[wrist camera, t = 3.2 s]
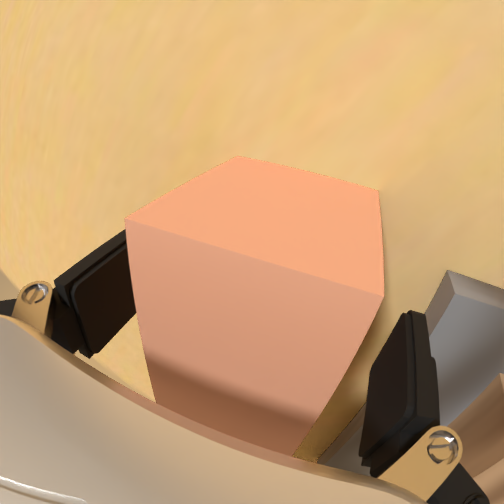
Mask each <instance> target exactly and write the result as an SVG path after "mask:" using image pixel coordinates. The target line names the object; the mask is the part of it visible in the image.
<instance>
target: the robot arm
mask: <svg viewBox="0 0 504 504" xmlns="http://www.w3.org/2000/svg"><path fill="white" fill-rule="evenodd" d="M54 283H55V286H56V287H55V288H54V289H52V287H51V285H50V284H49V283H48V282H45V281H35V282H32V283H29V284H27V285H26V286H25V287H23V288H22V289H21V291H20V292H19V294H18V297H17V299H11V300H5V301H0V504H490V502H489V499H488V497H487V495H486V494H485V493H484V492H483V490H482V489H481V488H480V487H479V485H478V484H477V483H476V482H475V481H474V479H473V478H472V477H471V476H470V474H469V473H468V472H467V471H466V470H465V468H464V467H463V466H462V465H461V464H460V462H459V461H460V459H461V457H462V452H463V448H462V442H461V440H460V437H459V436H458V435H457V433H456V432H455V431H453V430H452V429H451V428H449V427H446V426H440V409H439V391H438V379H437V368H436V361H435V359H434V357H431V349H430V341H429V333H428V326H427V320H426V315H425V314H422V313H419V312H415V311H412V310H409V311H408V312H407V314H406V313H402V315H401V316H400V318H399V320H398V322H397V324H396V325H395V327H394V329H393V331H392V333H391V334H390V336H389V338H388V340H387V342H386V343H385V345H384V347H383V348H382V350H381V352H380V353H379V355H378V357H377V358H376V360H375V362H374V363H373V365H372V368H371V371H370V376H369V386H368V394H367V402H366V409H365V416H364V423H363V429H362V435H361V441H360V447H359V453H358V455H359V457H362V462H361V466H366V467H370V472H369V473H370V475H371V476H366V475H362V474H358V473H354V472H350V471H346V470H342V469H337V468H333V467H329V466H325V465H321V464H317V463H313V462H309V461H306V460H302V459H299V458H295V457H292V456H288V455H285V454H282V453H278V452H275V451H272V450H269V449H266V448H263V447H260V446H257V445H254V444H251V443H248V442H245V441H242V440H240V439H237V438H234V437H232V436H229V435H226V434H224V433H221V432H219V431H216V430H214V429H212V428H209V427H207V426H204V425H202V424H200V423H197V422H195V421H193V420H191V419H188V418H186V417H184V416H182V415H180V414H177V413H175V412H173V411H171V410H169V409H167V408H165V407H163V406H161V405H159V404H157V403H155V402H153V401H151V400H149V399H147V398H145V397H143V396H141V395H140V394H138V393H136V392H134V391H132V390H130V389H128V388H127V387H125V386H123V385H122V384H120V383H118V382H116V381H115V380H113V379H111V378H109V377H108V376H106V375H104V374H103V373H101V372H99V371H98V370H96V369H95V368H93V367H92V366H90V365H88V364H87V363H85V362H84V361H82V360H81V359H79V358H78V357H76V356H75V352H76V351H77V350H79V352H80V353H81V354H83V355H84V356H86V357H88V358H89V359H90V358H91V357H92V356H93V354H94V353H95V354H96V353H99V352H100V351H101V350H102V349H103V347H104V346H105V345H106V344H107V343H108V342H109V341H110V340H111V339H112V338H113V337H114V336H115V335H116V334H117V333H118V331H119V330H120V329H121V328H122V327H123V326H124V325H125V324H126V323H127V322H128V321H129V320H130V319H131V318H132V317H133V316H134V315H135V314H136V313H137V312H136V306H135V300H134V294H133V287H132V280H131V273H130V265H129V257H128V248H127V239H126V229H125V230H123V231H122V232H120V233H119V234H117V235H116V236H114V237H113V238H111V239H110V240H109V241H107V242H106V243H104V244H103V245H101V246H100V247H99V248H97V249H96V250H94V251H93V252H91V253H90V254H89V255H87V256H86V257H85V258H83V259H82V260H80V261H79V262H78V263H76V264H75V265H74V266H72V267H71V268H70V269H68V270H67V271H66V272H64V273H63V274H62V275H60V276H59V277H58V278H56V279H55V280H54Z"/></svg>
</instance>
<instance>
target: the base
mask: <svg viewBox="0 0 504 504" xmlns="http://www.w3.org/2000/svg"><path fill="white" fill-rule="evenodd" d="M425 315H426V320H427V326H428V333H429V341H430V349H431V357H434V359H435V361H436V368H437V379H438V391H439V409H440V426H446V427H449V428H451V429H452V430H453V431H455V432H456V433H457V435H458V436H459V437H460V440H461V442H462V448H463V452H462V457H461V459H460V461H459V462H460V464H461V465H462V466H463V467H464V468H465V470H466V471H467V472H468V473H469V474H470V476H471V477H472V478H473V479H474V481H475V482H476V483H477V484H478V485H479V487H480V488H481V489H482V490H483V492H484V493H485V494H486V495H487V497H488V499H489V502H490V504H504V289H501V288H498V287H495V286H492V285H490V284H487V283H484V282H481V281H478V280H475V279H472V278H470V277H467V276H464V275H461V274H458V273H455V272H452V271H449V270H447V272H446V274H445V276H444V278H443V280H442V282H441V284H440V286H439V288H438V290H437V292H436V294H435V296H434V298H433V299H432V301H431V303H430V305H429V307H428V309H427V310H426V312H425ZM365 409H366V403H365V405H364V406H363V407H362V408H361V410H360V411H359V412H358V413H357V415H356V416H355V417H354V418H353V420H352V421H351V422H350V423H349V425H348V426H347V427H346V428H345V429H344V430H343V432H342V433H341V434H340V435H339V436H338V437H337V439H336V440H335V441H334V442H333V443H332V444H331V445H330V447H329V448H328V449H327V450H326V451H325V452H324V453H323V454H322V455H321V456H320V457H319V458H318V461H317V464H321V465H325V466H329V467H333V468H337V469H342V470H346V471H350V472H354V473H358V474H362V475H366V476H371V475H370V473H369V472H370V467H366V466H361V462H362V457H359V455H358V453H359V447H360V441H361V435H362V429H363V423H364V416H365Z"/></svg>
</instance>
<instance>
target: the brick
mask: <svg viewBox="0 0 504 504" xmlns="http://www.w3.org/2000/svg"><path fill="white" fill-rule="evenodd" d="M125 229H126V239H127V248H128V257H129V265H130V273H131V280H132V287H133V294H134V300H135V306H136V312H137V318H138V324H139V329H140V334H141V339H142V344H143V349H144V354H145V359H146V363H147V367H148V372H149V376H150V380H151V384H152V388H153V392H154V396H155V400H156V403H157V404H159V405H161V406H163V407H165V408H167V409H169V410H171V411H173V412H175V413H177V414H180V415H182V416H184V417H186V418H188V419H191V420H193V421H195V422H197V423H200V424H202V425H204V426H207V427H209V428H212V429H214V430H216V431H219V432H221V433H224V434H226V435H229V436H232V437H234V438H237V439H240V440H242V441H245V442H248V443H251V444H254V445H257V446H260V447H263V448H266V449H269V450H272V451H275V452H278V453H282V454H285V455H288V456H292V455H293V454H294V452H295V451H296V450H297V448H298V447H299V445H300V444H301V443H302V441H303V440H304V438H305V437H306V435H307V434H308V432H309V431H310V429H311V428H312V426H313V425H314V423H315V422H316V420H317V419H318V417H319V416H320V414H321V412H322V411H323V409H324V408H325V406H326V405H327V403H328V401H329V400H330V398H331V396H332V395H333V393H334V391H335V390H336V388H337V386H338V385H339V383H340V381H341V380H342V378H343V376H344V374H345V373H346V371H347V369H348V367H349V365H350V364H351V362H352V360H353V358H354V356H355V354H356V353H357V351H358V349H359V347H360V345H361V343H362V341H363V339H364V337H365V335H366V333H367V331H368V329H369V327H370V325H371V323H372V321H373V319H374V317H375V315H376V313H377V311H378V309H379V307H380V305H381V302H382V300H383V298H384V263H383V242H382V226H381V214H380V203H379V193H378V190H375V189H371V188H368V187H364V186H361V185H358V184H354V183H350V182H347V181H343V180H340V179H336V178H332V177H328V176H325V175H321V174H317V173H313V172H309V171H305V170H301V169H296V168H292V167H288V166H283V165H279V164H275V163H270V162H265V161H261V160H256V159H251V158H246V157H241V156H236V157H234V158H232V159H230V160H228V161H226V162H224V163H222V164H220V165H218V166H217V167H215V168H213V169H211V170H209V171H207V172H205V173H203V174H201V175H199V176H197V177H196V178H194V179H192V180H190V181H188V182H186V183H184V184H183V185H181V186H179V187H177V188H175V189H174V190H172V191H170V192H168V193H167V194H165V195H163V196H161V197H160V198H158V199H156V200H154V201H153V202H151V203H149V204H147V205H146V206H144V207H142V208H141V209H139V210H137V211H136V212H134V213H132V214H131V215H129V216H127V217H126V218H125Z"/></svg>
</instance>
